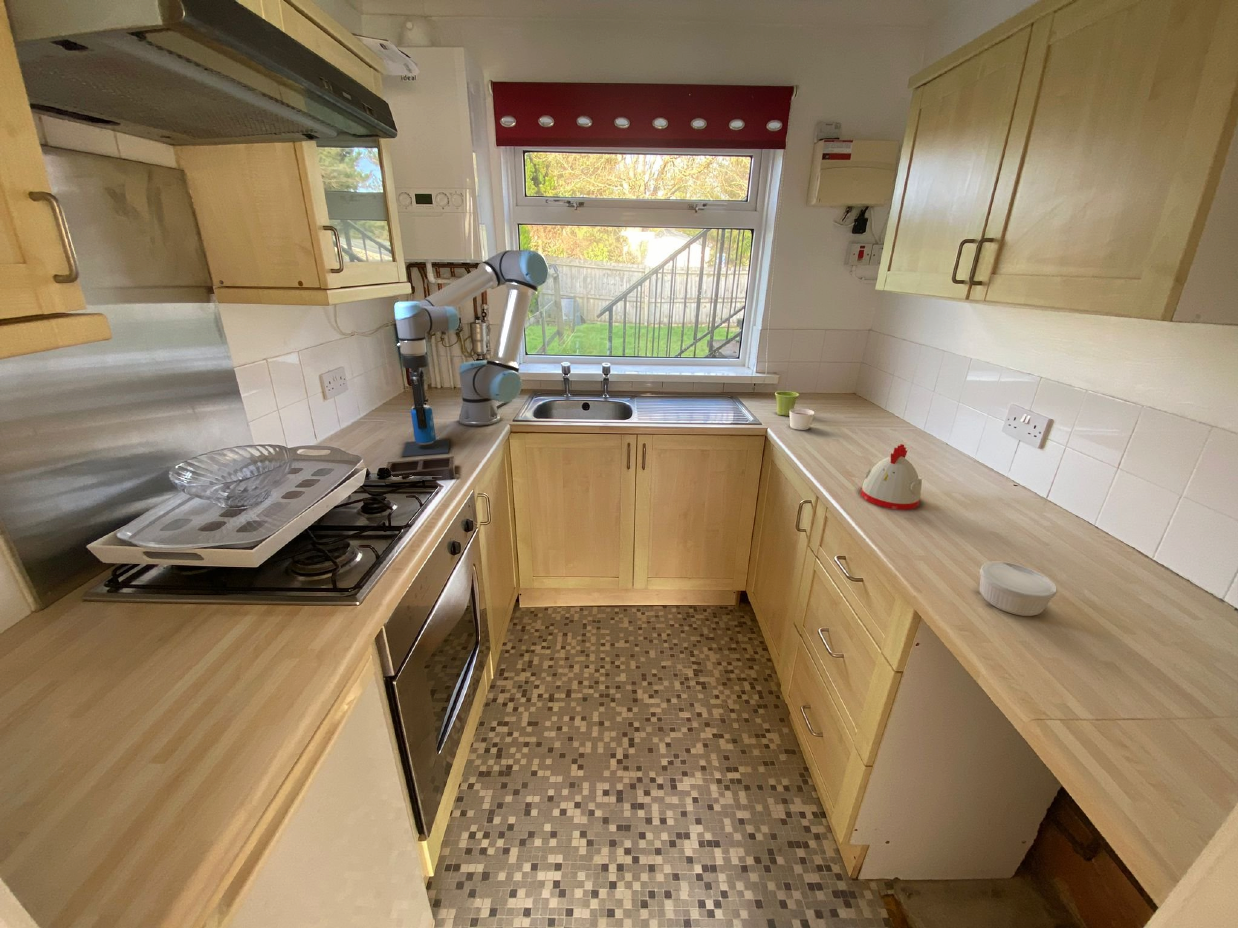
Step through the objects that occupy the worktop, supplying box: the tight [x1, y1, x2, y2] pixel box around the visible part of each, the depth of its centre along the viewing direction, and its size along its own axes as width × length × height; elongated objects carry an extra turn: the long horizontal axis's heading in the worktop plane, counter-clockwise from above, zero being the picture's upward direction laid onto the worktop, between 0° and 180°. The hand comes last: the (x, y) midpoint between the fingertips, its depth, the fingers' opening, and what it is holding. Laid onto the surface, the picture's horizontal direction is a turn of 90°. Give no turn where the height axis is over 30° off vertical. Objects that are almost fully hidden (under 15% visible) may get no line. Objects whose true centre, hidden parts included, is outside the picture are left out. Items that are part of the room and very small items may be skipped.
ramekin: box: [979, 560, 1058, 617], centre depth 93 cm, size 11×11×5 cm
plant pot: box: [774, 390, 800, 417], centre depth 210 cm, size 9×9×9 cm
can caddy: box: [385, 456, 456, 481], centre depth 147 cm, size 10×18×3 cm, turn 106°
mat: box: [401, 438, 450, 458], centre depth 169 cm, size 14×14×1 cm
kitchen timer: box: [860, 443, 923, 511], centre depth 133 cm, size 14×14×15 cm
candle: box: [789, 407, 815, 431], centre depth 193 cm, size 9×9×6 cm
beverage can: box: [410, 404, 437, 445], centre depth 166 cm, size 6×6×12 cm
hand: (423, 425), depth 166 cm, fingers closed on beverage can, 6 cm apart
